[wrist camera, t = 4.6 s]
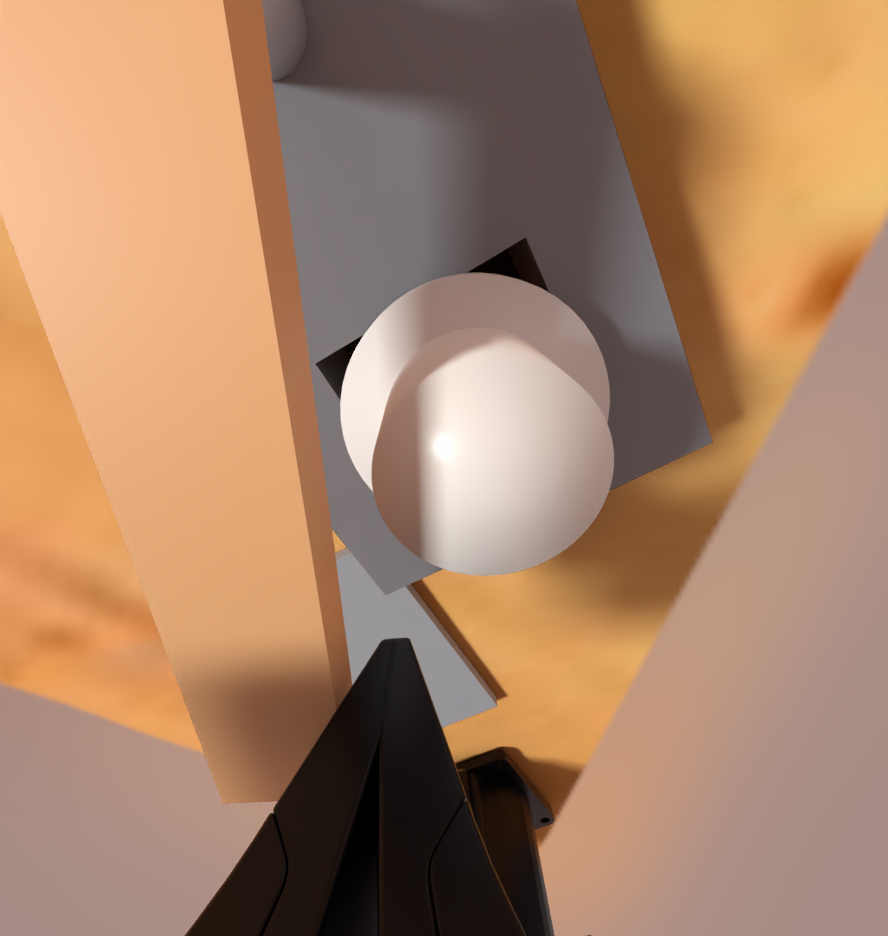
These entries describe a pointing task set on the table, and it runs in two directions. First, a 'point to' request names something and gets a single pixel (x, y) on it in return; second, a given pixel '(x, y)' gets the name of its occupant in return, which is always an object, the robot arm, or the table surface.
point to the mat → (409, 616)
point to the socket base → (464, 207)
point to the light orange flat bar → (184, 347)
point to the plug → (480, 422)
